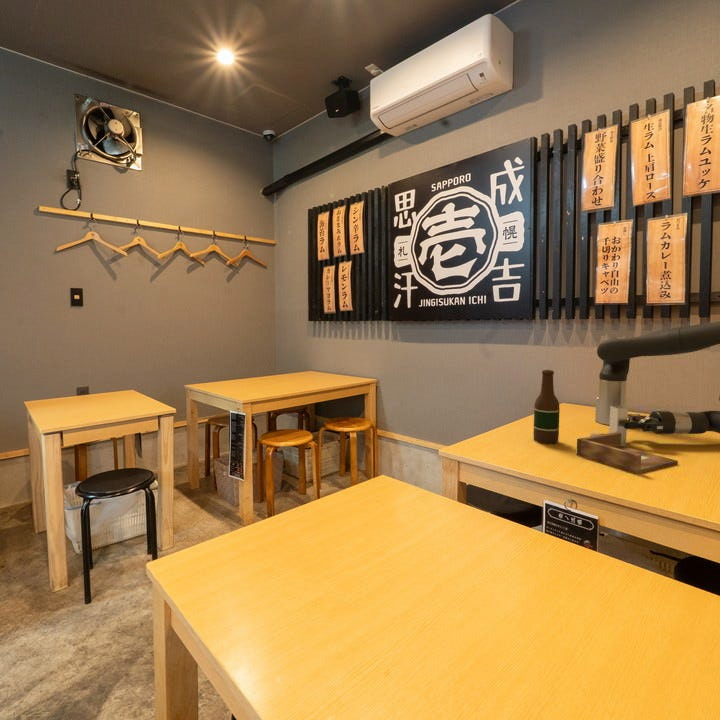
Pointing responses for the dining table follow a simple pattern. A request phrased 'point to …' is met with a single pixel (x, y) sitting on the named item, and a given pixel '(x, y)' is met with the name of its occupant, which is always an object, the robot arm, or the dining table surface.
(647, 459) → the board
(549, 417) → the beer bottle
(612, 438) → the walls
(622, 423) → the bracket
